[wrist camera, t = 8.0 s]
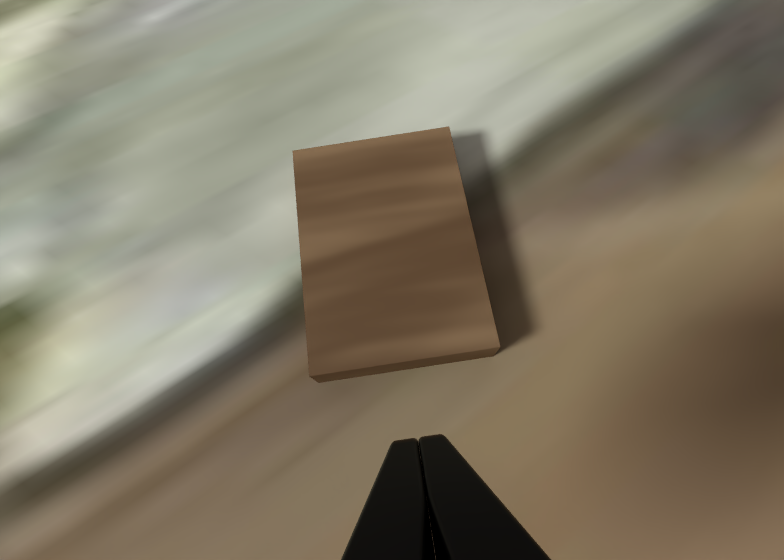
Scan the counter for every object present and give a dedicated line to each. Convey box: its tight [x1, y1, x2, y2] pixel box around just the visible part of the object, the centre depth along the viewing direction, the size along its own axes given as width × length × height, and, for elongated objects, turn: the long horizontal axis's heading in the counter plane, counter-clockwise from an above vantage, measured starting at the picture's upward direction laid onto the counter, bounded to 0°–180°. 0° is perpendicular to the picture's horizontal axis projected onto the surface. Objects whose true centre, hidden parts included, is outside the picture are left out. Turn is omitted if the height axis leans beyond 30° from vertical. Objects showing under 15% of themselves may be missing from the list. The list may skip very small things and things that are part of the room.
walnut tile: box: [293, 127, 500, 383], centre depth 19 cm, size 2×7×10 cm
